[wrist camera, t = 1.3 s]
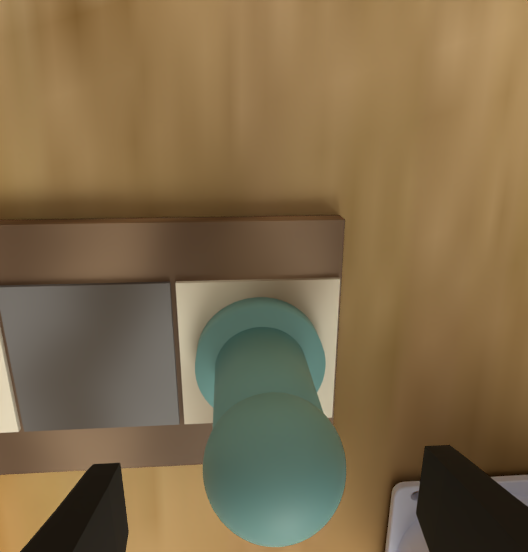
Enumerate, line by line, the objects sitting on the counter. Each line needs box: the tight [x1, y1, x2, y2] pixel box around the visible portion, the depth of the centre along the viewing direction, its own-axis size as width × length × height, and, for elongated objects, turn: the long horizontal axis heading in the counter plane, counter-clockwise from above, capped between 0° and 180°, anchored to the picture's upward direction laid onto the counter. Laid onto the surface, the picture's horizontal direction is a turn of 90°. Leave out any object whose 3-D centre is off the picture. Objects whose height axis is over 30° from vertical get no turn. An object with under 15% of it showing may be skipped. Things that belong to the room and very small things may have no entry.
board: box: [0, 215, 345, 475], centre depth 17 cm, size 24×10×1 cm, turn 90°
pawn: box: [195, 297, 346, 547], centre depth 14 cm, size 5×5×8 cm
